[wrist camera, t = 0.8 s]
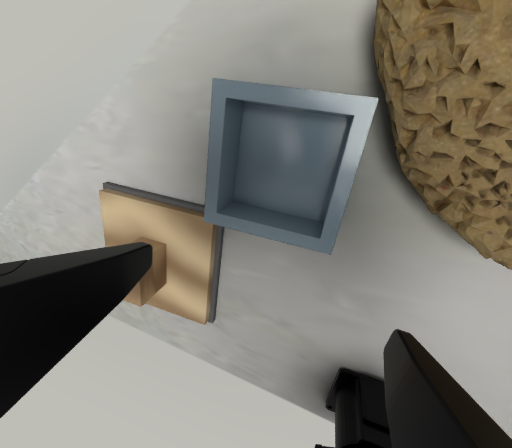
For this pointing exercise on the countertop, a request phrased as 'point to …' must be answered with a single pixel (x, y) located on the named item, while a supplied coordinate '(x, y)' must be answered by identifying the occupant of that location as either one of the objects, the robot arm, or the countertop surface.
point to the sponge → (453, 110)
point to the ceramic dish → (283, 160)
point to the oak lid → (165, 252)
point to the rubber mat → (192, 207)
